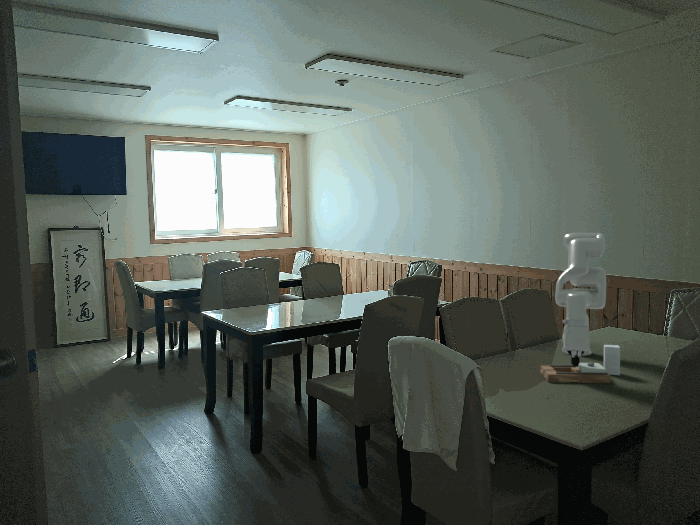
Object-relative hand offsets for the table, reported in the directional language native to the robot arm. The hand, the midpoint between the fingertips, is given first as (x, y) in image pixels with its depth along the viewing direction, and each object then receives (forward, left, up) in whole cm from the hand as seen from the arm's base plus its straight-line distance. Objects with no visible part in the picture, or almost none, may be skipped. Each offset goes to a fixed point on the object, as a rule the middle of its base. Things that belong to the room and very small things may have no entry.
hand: (575, 365), depth 222 cm
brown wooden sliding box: (0, -1, -5) cm, 5 cm away
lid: (0, +6, -2) cm, 6 cm away
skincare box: (-6, +16, -5) cm, 18 cm away
